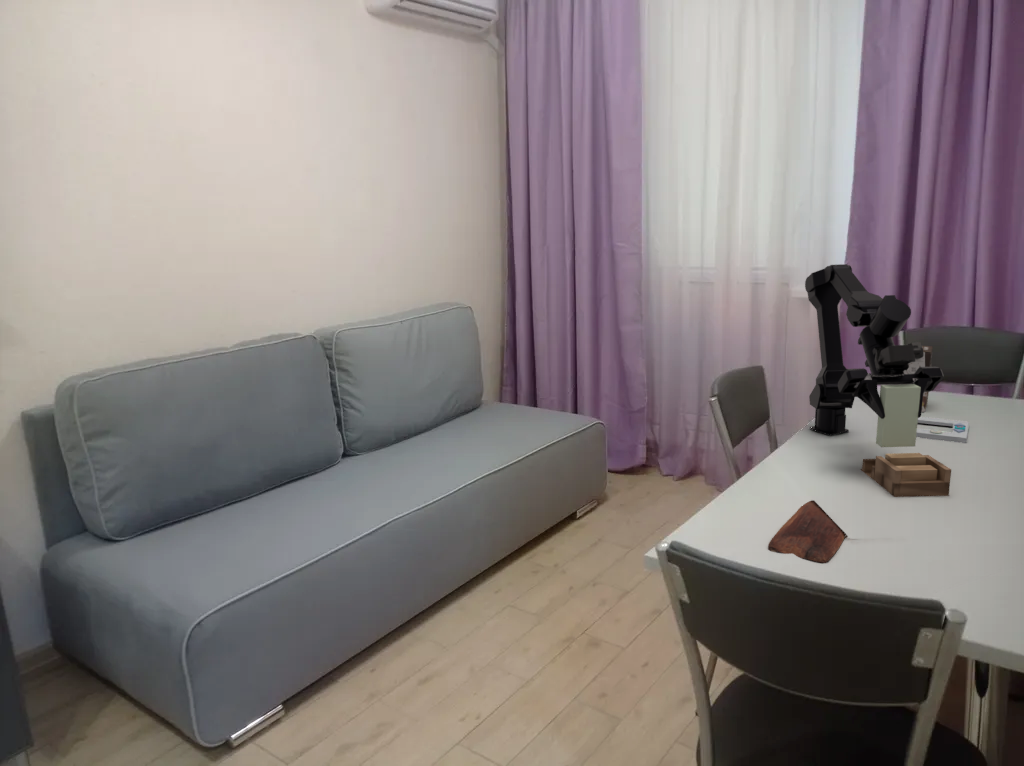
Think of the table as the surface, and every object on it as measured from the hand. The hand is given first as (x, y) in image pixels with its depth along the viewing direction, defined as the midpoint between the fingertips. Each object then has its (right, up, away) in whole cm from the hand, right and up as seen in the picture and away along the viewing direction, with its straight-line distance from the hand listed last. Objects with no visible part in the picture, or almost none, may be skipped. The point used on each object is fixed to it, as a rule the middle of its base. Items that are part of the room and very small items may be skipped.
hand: (901, 417), depth 145 cm
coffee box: (+32, 0, +54) cm, 63 cm away
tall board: (0, -6, +3) cm, 6 cm away
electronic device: (+24, -5, +35) cm, 43 cm away
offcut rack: (0, -14, 0) cm, 14 cm away
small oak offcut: (0, -14, -4) cm, 14 cm away
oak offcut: (0, -13, 0) cm, 13 cm away
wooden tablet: (-23, -19, -16) cm, 34 cm away
